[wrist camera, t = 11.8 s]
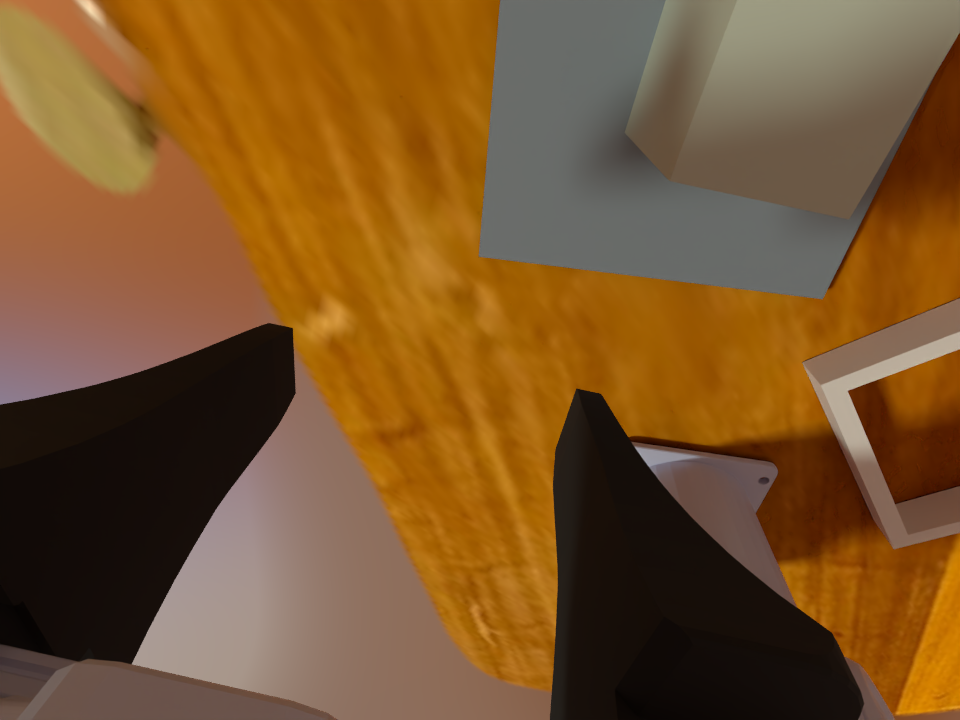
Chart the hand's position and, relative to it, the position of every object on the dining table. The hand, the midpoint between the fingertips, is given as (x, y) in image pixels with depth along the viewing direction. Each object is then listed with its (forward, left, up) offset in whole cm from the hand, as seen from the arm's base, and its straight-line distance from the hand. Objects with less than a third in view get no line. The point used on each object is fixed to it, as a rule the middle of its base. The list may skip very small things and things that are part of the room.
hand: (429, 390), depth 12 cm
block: (+7, -7, -10) cm, 14 cm away
